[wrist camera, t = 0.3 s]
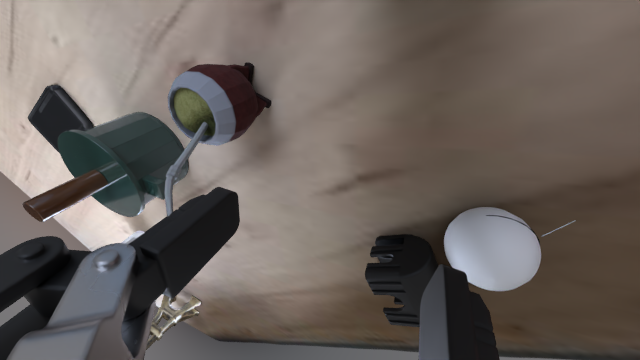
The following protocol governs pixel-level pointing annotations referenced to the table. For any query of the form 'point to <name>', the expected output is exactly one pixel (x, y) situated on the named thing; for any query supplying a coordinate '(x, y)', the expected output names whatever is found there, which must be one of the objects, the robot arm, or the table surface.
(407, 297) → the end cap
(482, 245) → the white sphere
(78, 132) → the lid
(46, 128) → the phone
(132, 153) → the pot
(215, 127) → the mate gourd
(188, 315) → the eiffel tower
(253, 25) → the table surface
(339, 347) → the table surface
